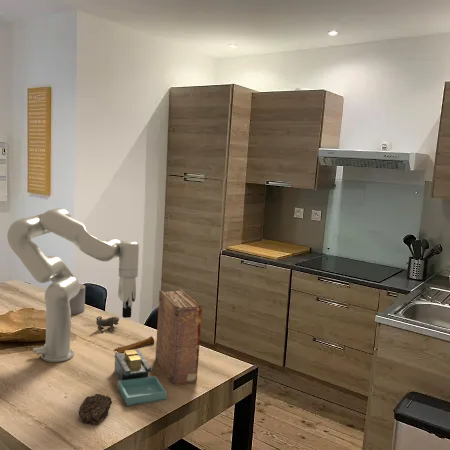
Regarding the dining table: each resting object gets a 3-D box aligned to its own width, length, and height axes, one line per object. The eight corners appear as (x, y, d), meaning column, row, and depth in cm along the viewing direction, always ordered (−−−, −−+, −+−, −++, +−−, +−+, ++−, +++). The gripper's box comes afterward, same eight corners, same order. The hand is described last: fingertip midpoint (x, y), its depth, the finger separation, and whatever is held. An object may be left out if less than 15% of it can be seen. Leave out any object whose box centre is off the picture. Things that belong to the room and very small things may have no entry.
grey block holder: (124, 389, 170) (125, 371, 169) (113, 369, 185) (114, 352, 184) (151, 385, 174) (152, 367, 173) (138, 366, 189) (139, 350, 188)
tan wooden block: (130, 368, 174) (130, 360, 174) (127, 363, 177) (128, 356, 177) (141, 366, 176) (141, 359, 175) (138, 362, 179) (138, 355, 179)
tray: (126, 406, 159) (127, 397, 158) (117, 388, 170) (118, 380, 170) (166, 399, 165) (166, 391, 164) (155, 383, 176) (155, 375, 176)
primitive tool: (119, 355, 200) (120, 347, 200) (112, 351, 204) (112, 343, 203) (155, 344, 214) (155, 337, 214) (148, 341, 218) (148, 334, 217)
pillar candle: (65, 308, 253) (66, 281, 251) (84, 307, 256) (85, 281, 254) (65, 314, 244) (66, 286, 242) (84, 314, 247) (85, 286, 245)
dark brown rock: (92, 403, 159) (92, 389, 159) (117, 411, 155) (117, 397, 155) (69, 419, 149) (69, 404, 148) (95, 428, 145) (96, 413, 144)
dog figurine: (98, 333, 221) (98, 318, 220) (94, 329, 226) (94, 314, 225) (122, 329, 228) (122, 315, 227) (117, 326, 233) (118, 311, 232)
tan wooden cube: (126, 362, 179) (127, 354, 178) (124, 358, 182) (124, 350, 182) (137, 361, 181) (137, 353, 180) (134, 356, 184) (134, 349, 184)
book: (155, 358, 198) (159, 289, 194) (176, 356, 202) (180, 288, 198) (173, 386, 175) (178, 308, 172) (196, 383, 179) (202, 307, 175)
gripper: (114, 268, 191) (113, 312, 194) (123, 277, 178) (121, 324, 181) (132, 267, 195) (131, 310, 197) (142, 276, 181) (140, 322, 184)
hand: (126, 316), depth 189 cm, fingers closed
